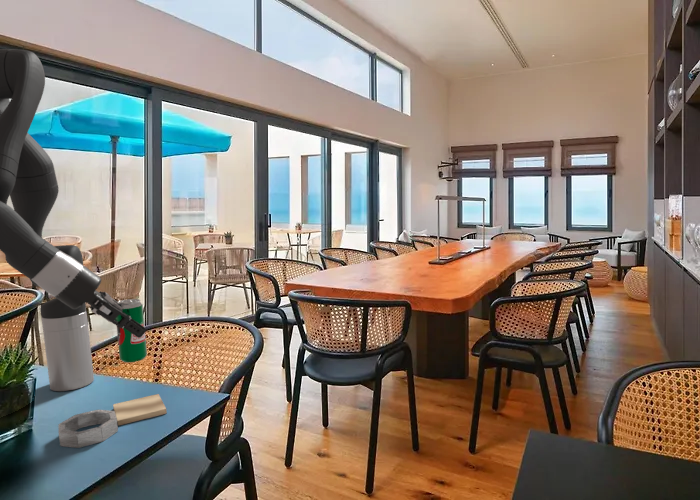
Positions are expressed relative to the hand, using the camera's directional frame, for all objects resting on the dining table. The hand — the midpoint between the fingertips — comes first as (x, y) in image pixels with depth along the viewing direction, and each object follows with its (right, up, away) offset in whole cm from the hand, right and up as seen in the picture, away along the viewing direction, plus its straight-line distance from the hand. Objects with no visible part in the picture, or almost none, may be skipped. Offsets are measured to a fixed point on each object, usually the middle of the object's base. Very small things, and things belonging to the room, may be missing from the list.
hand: (140, 330), depth 101 cm
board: (-1, -17, +1) cm, 17 cm away
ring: (-6, -18, -8) cm, 21 cm away
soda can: (-1, -6, 0) cm, 6 cm away
